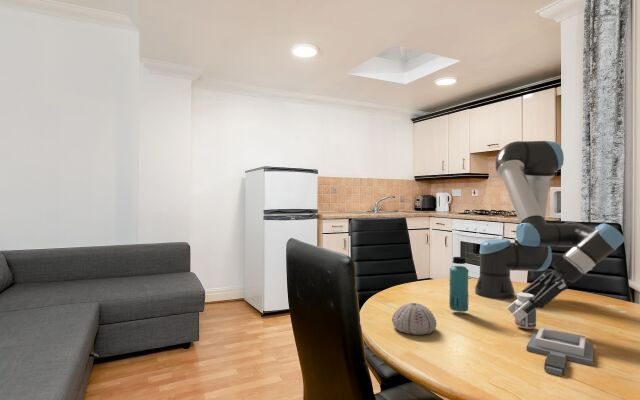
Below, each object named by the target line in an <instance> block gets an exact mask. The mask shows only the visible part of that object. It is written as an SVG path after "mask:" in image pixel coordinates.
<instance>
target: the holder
mask: <svg viewBox="0 0 640 400" xmlns="http://www.w3.org/2000/svg"><path fill="white" fill-rule="evenodd" d="M526 351H527V352H530V353H531V352H532V353H535V354H540V355H544V356H546V359H545V360H544V371H545V373H548V374H552V375H555V376H560V377H562V376H564V375H565V372H566V366H567V361H570V362H575V363H578V364H582V365H586V366H593V363H594V362H593V361H594V360H593V359H594V343H593V342H590V341H586V336H585V335H581V334H575V333H572V332H565V331H559V330H555V329H550V328H546V327H541V326H540V327H539V329H538V330H537V331H533V333H532V335H531V337H530V339H529V341H528V342H527V345H526Z"/></svg>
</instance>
